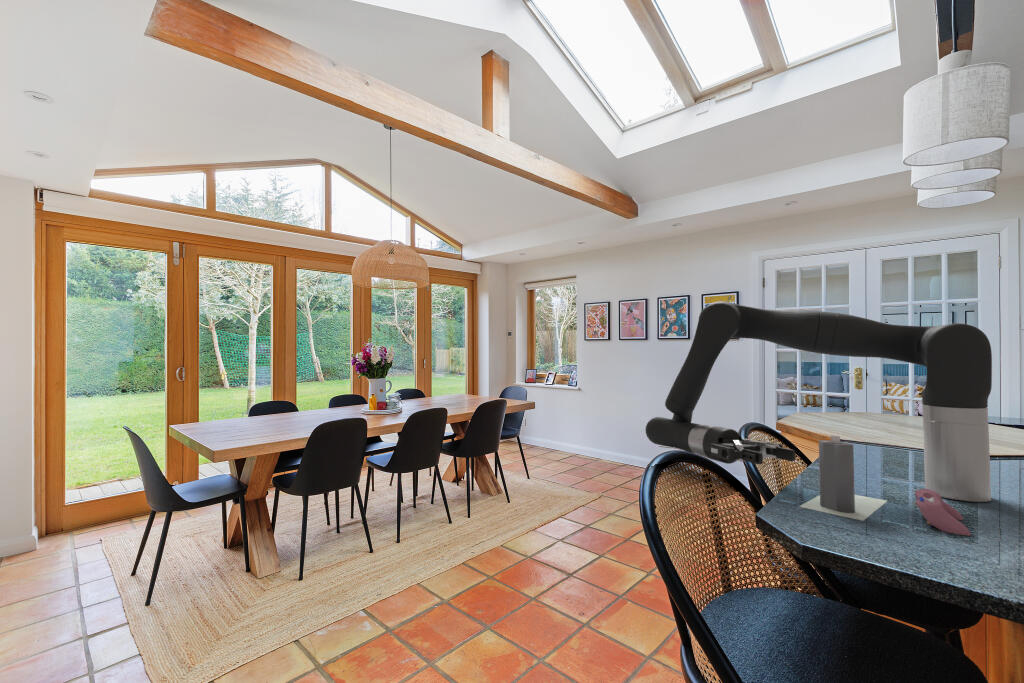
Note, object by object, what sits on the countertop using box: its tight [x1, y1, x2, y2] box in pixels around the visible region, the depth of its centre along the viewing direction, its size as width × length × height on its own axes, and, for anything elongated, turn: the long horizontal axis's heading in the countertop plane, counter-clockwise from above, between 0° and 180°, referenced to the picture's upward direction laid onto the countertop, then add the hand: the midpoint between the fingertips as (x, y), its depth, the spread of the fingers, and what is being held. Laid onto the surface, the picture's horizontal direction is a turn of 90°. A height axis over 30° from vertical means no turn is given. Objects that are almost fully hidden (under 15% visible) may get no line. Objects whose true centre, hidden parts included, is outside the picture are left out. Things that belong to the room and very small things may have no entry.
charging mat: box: [798, 494, 888, 522], centre depth 81 cm, size 16×9×1 cm, turn 130°
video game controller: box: [913, 488, 972, 536], centre depth 71 cm, size 10×5×7 cm, turn 141°
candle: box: [818, 434, 856, 513], centre depth 78 cm, size 5×3×12 cm, turn 20°
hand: (778, 457), depth 89 cm, fingers open, 8 cm apart
